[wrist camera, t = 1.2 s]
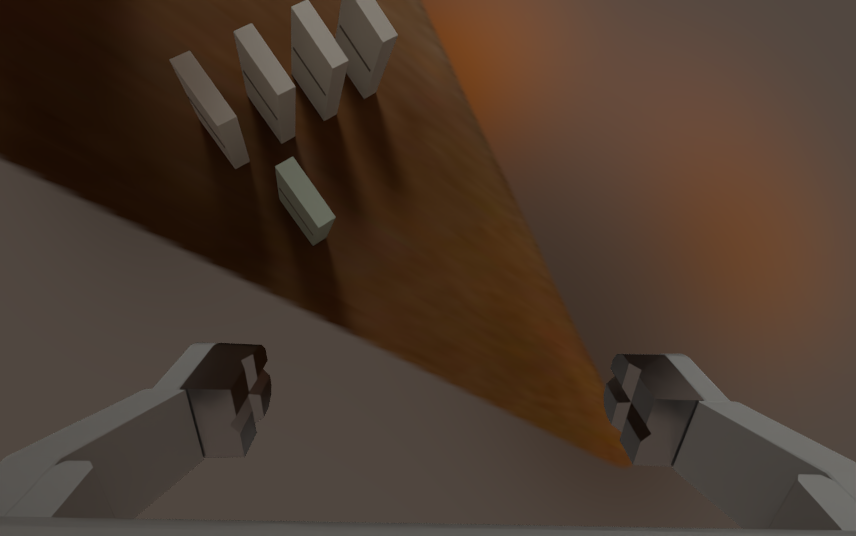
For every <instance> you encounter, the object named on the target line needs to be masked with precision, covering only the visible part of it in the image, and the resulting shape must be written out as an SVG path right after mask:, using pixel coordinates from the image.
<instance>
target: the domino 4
mask: <svg viewBox="0 0 856 536" xmlns="http://www.w3.org/2000/svg"><path fill="white" fill-rule="evenodd" d="M275 170H276V178H277V186H278V193H279V200H280V201H281V202H282V204H283V205H284V206H285V208H286V209H287V211H288V212H289V213H290V215H291V216H292V218H293V219H294V220H295V222H296V223H297V225H298V226H299V227H300V229H301V230H302V232H303V233H304V234H305V236H306V237H307V239H308V240H309V241H310V243H311V244H312V246H314V245H315V244H317V243H319V242H320V241H322V240H323V239H325V238H326V237H327V235H328V233H329V230H330V228H331V226H332V224H333V222H334V220H335V218H336V217H335V215H334V214H333V213H332V211H331V210H330V208H329V207H328V205H327V204H326V203H325V201H324V200H323V198H322V197H321V196H320V194H319V193H318V191H317V190H316V188H315V187H314V186H313V184H312V183H311V181H310V180H309V178H308V177H307V176H306V174H305V173H304V171H303V170H302V169H301V167H300V166H299V164H298V163H297V161H296V160H295V159H294V157H291V158H289V159H287V160H286V161H284V162H282V163H280V164H278V165H277V166H275Z"/></svg>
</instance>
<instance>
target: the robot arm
mask: <svg viewBox="0 0 856 536" xmlns="http://www.w3.org/2000/svg"><path fill="white" fill-rule="evenodd" d="M266 362H267V356H266V350H265V348H264V347H263V346H262V345H252V344H229V343H199V342H197V343H194V344H191V346H189V347H188V349H187V350H186V351H185V352H184V353H183V354H182V355H181V357H180V358H179V359H178V360H177V361H176V362H175V363H174V365H173V366H172V367H171V368H170V369H169V370H168V371H167V372H166V374H165V375H164V376H163V377H162V378H161V379H160V380H159V382H158V383H157V384H156V385H155V386H154V387H153V388H152V389H143V390H141V391H139V392H137V393H135V394H133V395H131V396H129V397H127V398H125V399H123V400H121V401H119V402H117V403H115V404H113V405H111V406H109V407H106V408H104V409H103V410H100V411H98V412H96V413H94V414H92V415H90V416H88V417H86V418H84V419H82V420H80V421H78V422H76V423H74V424H72V425H70V426H68V427H66V428H64V429H62V430H60V431H58V432H56V433H54V434H52V435H50V436H48V437H45V438H43V439H41V440H39V441H37V442H35V443H33V444H31V445H29V446H27V447H25V448H23V449H21V450H19V451H17V452H15V453H13V454H11V455H9V456H7V457H5V458H4V459H3V460H2V461H1V462H0V536H856V462H853V461H852V460H850V459H848V458H846V457H844V456H842V455H840V454H838V453H836V452H834V451H832V450H830V449H828V448H826V447H824V446H823V445H821V444H819V443H817V442H815V441H813V440H811V439H809V438H807V437H805V436H803V435H801V434H799V433H797V432H795V431H793V430H791V429H789V428H788V427H785V426H783V425H782V424H780V423H778V422H776V421H774V420H772V419H770V418H768V417H766V416H764V415H762V414H760V413H758V412H756V411H754V410H752V409H751V408H749V407H747V406H745V405H743V404H741V403H739V402H730V401H729V399H728V398H727V397H726V396H725V395H724V394H723V393H722V392H721V391H720V390H719V389H718V388H717V387H716V386H715V385H714V384H713V383H712V381H710V379H709V378H708V377H707V376H706V375H705V374H704V373H703V372H702V371H701V370H700V369H699V368H698V367H697V366H696V365H695V363H694V362H693V361H692V360H691V359H690V358H689V357H687V356H685V355H683V354H659V355H655V354H654V355H653V354H617V355H616V356H615V357H614V359H613V361H612V365H611V370H612V372H613V374H614V375H615V377H613V378H612V379H611V380H610V381H609V382H608V383H606V387H605V392H604V407H605V411H606V414H607V417H608V419H609V421H610V423H611V425H613V426H614V427H616V428H617V429H618V430H620V431H621V432H622V434H621V437H620V442H621V443H622V445H623V447H624V449H625V451H626V453H627V454H628V456H629V458H630V460H631V462H632V464H633V465H646V466H668V467H673V470H675V471H676V472H677V473H678V474H680V475H681V476H682V477H683V478H684V479H685V480H686V481H688V482H689V483H690V484H691V485H692V486H694V487H695V488H696V489H697V490H698V491H700V493H702V494H703V495H704V496H705V497H706V498H708V499H709V500H710V501H711V502H712V503H713V504H715V505H716V506H717V507H718V508H719V509H721V510H722V511H723V512H724V513H725V514H726V515H728V516H729V517H730V518H731V519H732V520H733V521H735V522H736V523H737V524H738V525H739V526H740V527H742V528H743V529H726V528H661V527H659V528H658V527H604V526H549V525H490V524H427V523H426V524H425V523H423V524H422V523H366V522H365V523H364V522H305V521H304V522H302V521H301V522H300V521H244V520H243V521H241V520H183V519H134V518H135V517H136V516H138V514H140V513H141V512H142V511H143V510H145V509H146V508H147V507H148V506H150V505H151V504H152V503H153V502H154V501H155V500H157V499H158V498H159V497H160V496H161V495H163V494H164V493H165V492H166V491H167V490H169V489H170V488H171V487H172V486H173V485H175V484H176V483H177V482H178V481H179V480H181V479H182V478H183V477H184V476H185V475H186V474H188V473H189V472H190V471H191V470H192V469H194V468H195V467H196V466H197V465H198V464H200V463H201V462H202V461H203V460H204V458H219V457H220V458H222V457H223V458H226V457H245V456H246V454H247V451H248V449H249V447H250V445H251V443H252V441H253V439H254V437H255V435H256V433H257V432H256V427H255V423H256V422H258V421H259V420H261V419H262V418H263V417H264V416H265V414H266V411H267V409H268V407H269V402H270V397H271V379H270V375H268V373H267V372H266V371H265V370H264V369H263V368H264V366H265V364H266Z"/></svg>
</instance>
